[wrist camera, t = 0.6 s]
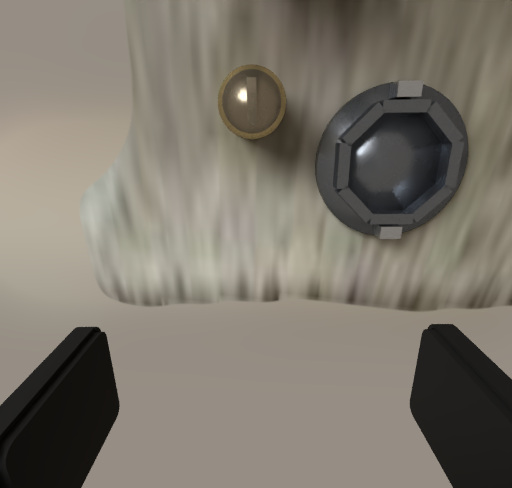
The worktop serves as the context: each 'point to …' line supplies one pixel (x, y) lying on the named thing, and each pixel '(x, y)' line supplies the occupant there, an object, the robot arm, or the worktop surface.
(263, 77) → the brass lock cylinder
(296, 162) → the worktop surface
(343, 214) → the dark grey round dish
